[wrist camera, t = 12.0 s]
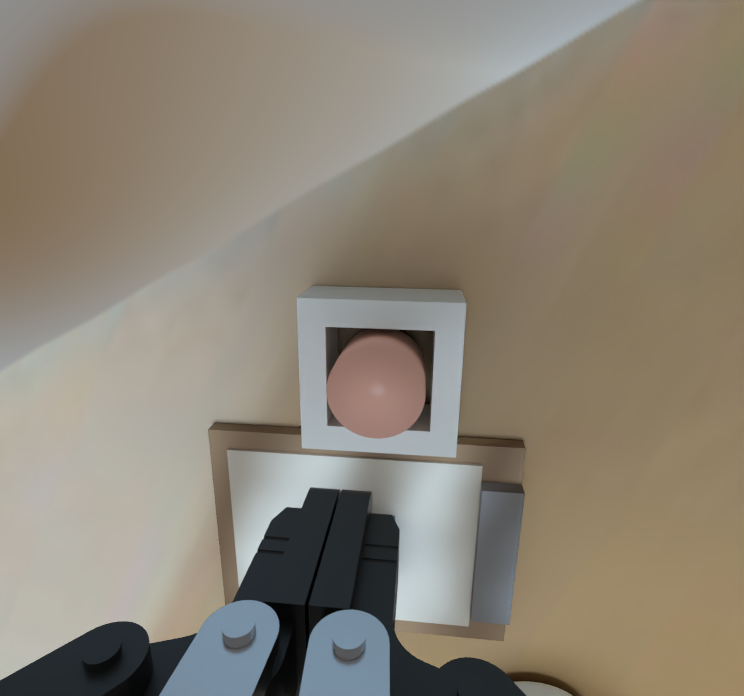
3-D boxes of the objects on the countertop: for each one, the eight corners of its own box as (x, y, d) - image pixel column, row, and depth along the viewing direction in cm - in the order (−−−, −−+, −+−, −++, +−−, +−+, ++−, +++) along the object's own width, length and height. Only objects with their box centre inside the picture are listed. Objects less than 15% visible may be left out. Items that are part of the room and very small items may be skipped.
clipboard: (522, 440, 24) (529, 456, 23) (501, 629, 28) (505, 654, 26) (214, 422, 26) (201, 436, 24) (231, 603, 29) (220, 625, 28)
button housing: (461, 289, 22) (466, 303, 20) (452, 427, 24) (455, 457, 22) (312, 285, 23) (296, 297, 20) (316, 420, 25) (301, 448, 22)
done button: (427, 328, 22) (427, 348, 19) (423, 411, 23) (423, 441, 20) (338, 325, 22) (325, 343, 19) (339, 406, 23) (327, 435, 20)
